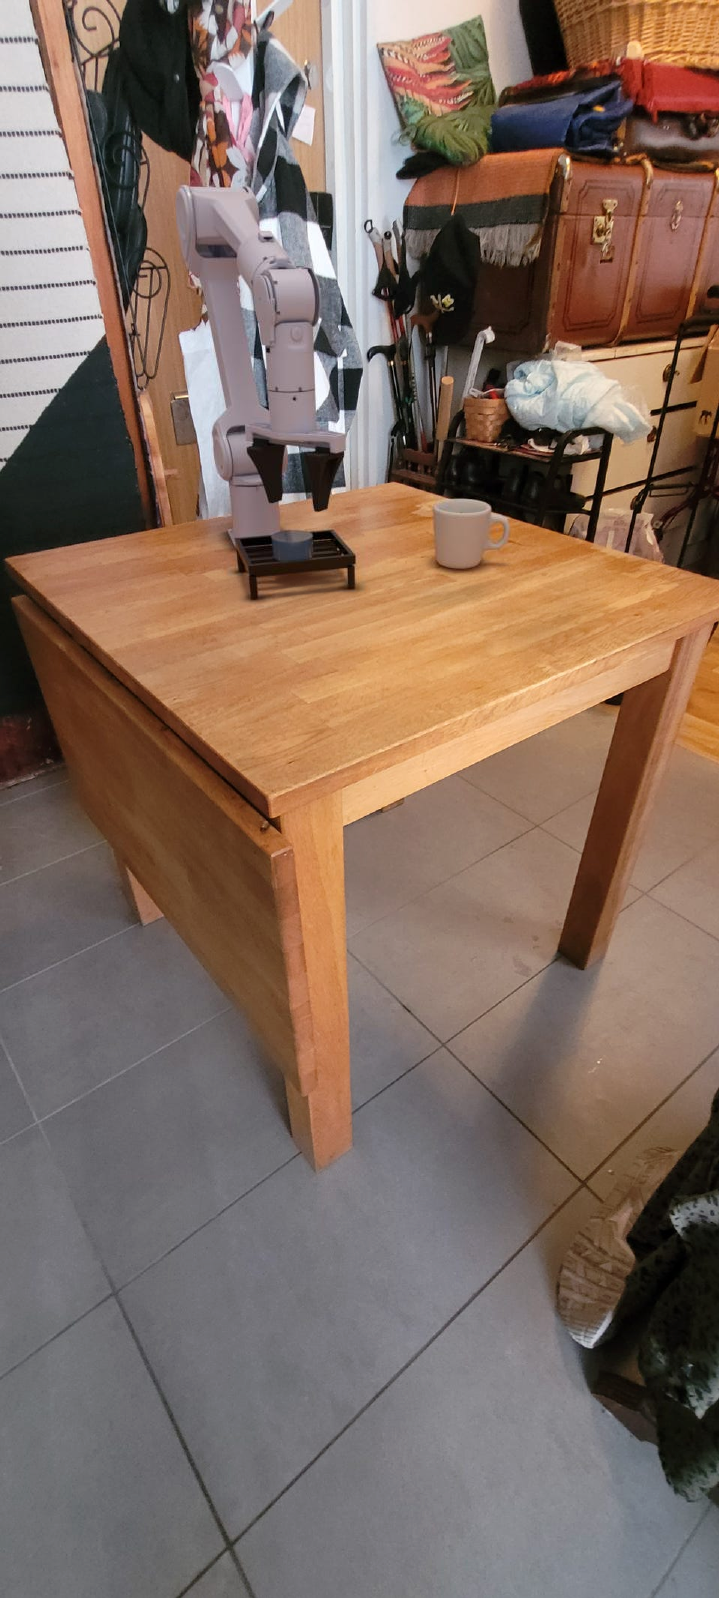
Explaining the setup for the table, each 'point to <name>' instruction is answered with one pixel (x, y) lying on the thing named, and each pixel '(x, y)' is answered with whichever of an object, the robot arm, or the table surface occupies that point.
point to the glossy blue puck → (292, 545)
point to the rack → (264, 564)
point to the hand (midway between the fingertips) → (297, 505)
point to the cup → (465, 532)
